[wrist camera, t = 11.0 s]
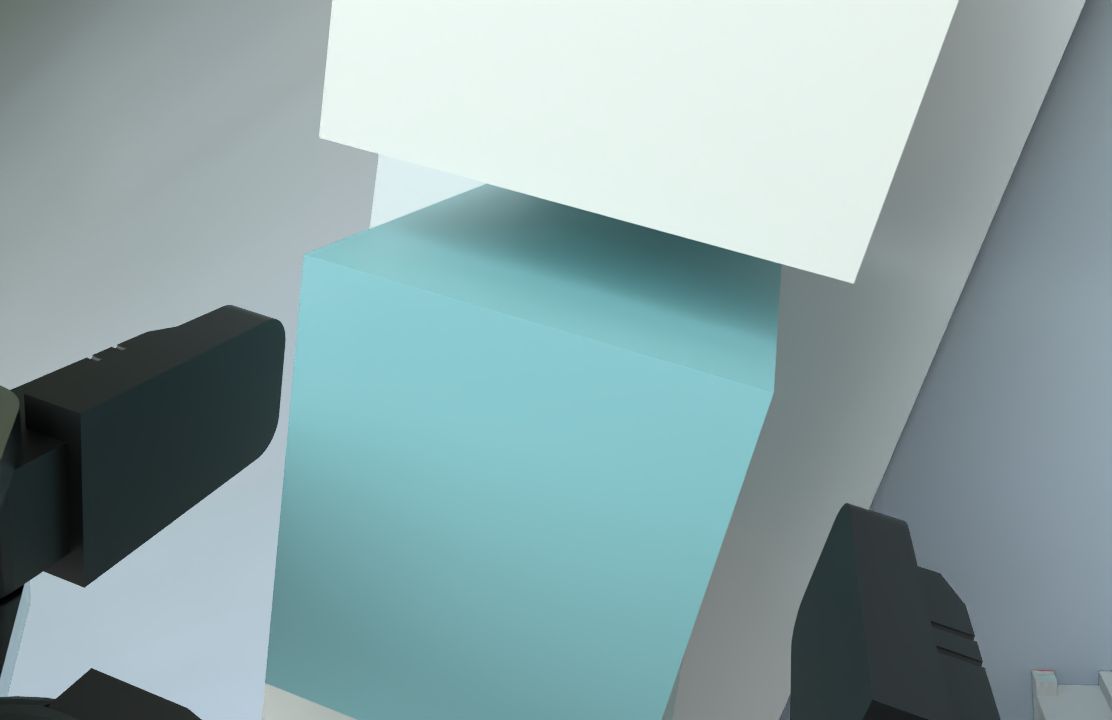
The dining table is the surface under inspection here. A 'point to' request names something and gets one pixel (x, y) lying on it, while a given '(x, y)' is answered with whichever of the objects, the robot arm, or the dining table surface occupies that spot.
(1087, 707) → the circuit breaker
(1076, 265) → the dining table surface
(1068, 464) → the dining table surface
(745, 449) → the block
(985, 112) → the rail panel
